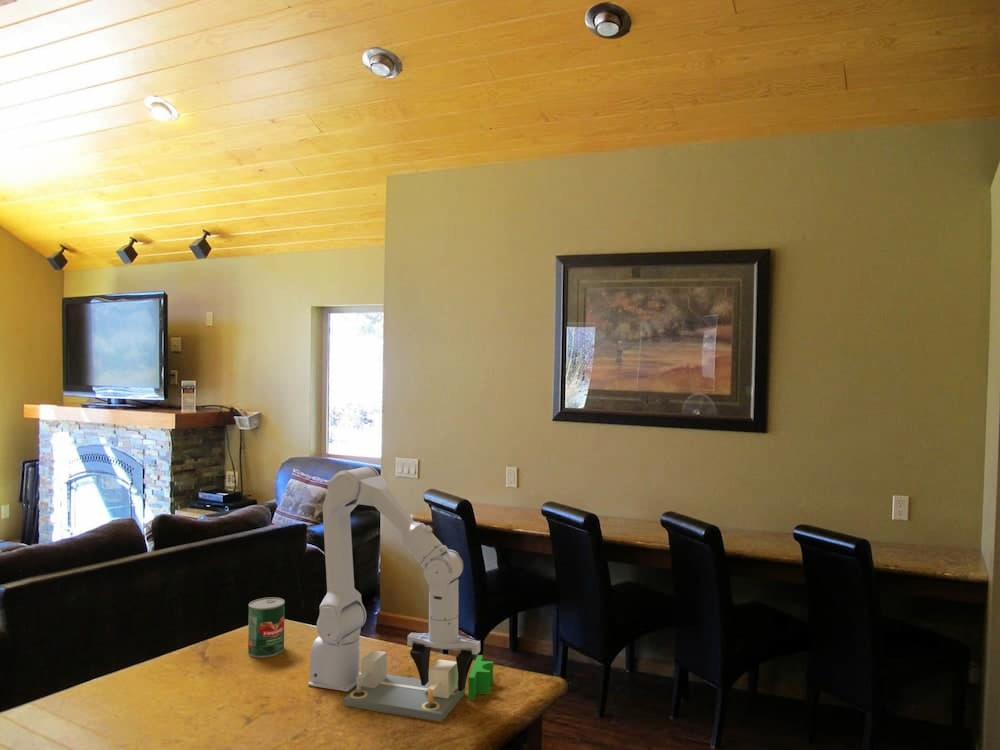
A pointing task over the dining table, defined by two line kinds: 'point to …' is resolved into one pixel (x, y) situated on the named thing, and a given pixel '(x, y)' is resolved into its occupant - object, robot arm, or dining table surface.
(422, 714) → the plate
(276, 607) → the canned tomato
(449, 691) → the block
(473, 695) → the pipe clamp
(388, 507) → the robot arm
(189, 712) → the dining table surface
